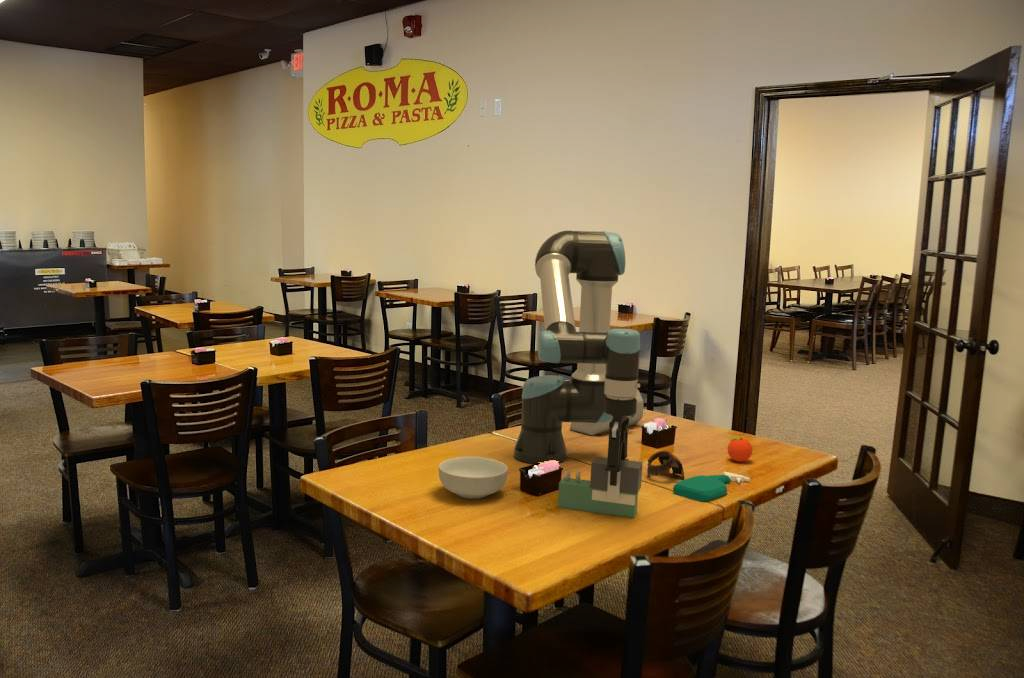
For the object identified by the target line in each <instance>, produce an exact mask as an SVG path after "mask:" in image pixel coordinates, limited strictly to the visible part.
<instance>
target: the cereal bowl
mask: <svg viewBox="0 0 1024 678" xmlns="http://www.w3.org/2000/svg"><path fill="white" fill-rule="evenodd" d="M508 469H509V468H508V465H506V464H505V463H503V462H502V461H500V460H497V459H493V458H488V457H482V456H458V457H457V456H456V457H452V458H449V459H445V460H443V461H442V462H440V464H439V465H438V477H439V481H440V483H441V484H442V486H443V487H444V488H445V489H446V490H448V491H449V492H451V493H453V494H456V495H457V496H458V497H461V498H463V499H464V498H465V499H471V500H472V499H473V500H475V499H477V500H478V499H482V498H485V497H487V496H488V495H489V496H490V495H492V494H494V493H497V492H498V491H500V490H501V489H502V488H503V487H504V486H505V484H506V482H507V478H508V471H509V470H508Z"/></svg>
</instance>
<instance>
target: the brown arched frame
mask: <svg viewBox="0 0 1024 678" xmlns="http://www.w3.org/2000/svg"><path fill="white" fill-rule="evenodd" d="M656 459H658V462H659V463H660V464H659V465H653V464H652V463H653V462H654V461H656ZM647 462H648V463H647V469H646V471H647V477H649V478H650V477H651V475H652V476H658V475H664V474H668V475H671V472H670V469H671V471H672V475H680V476H681V478H682V480H685V479H686V477H685V471H684V468H683V464H682V462H681V460H680V459H679V457H677V456H676V455H674V454H673V453H672V452H671V451H670V450H666V449H664V450H659V451H657V452H655V453H653V454H652V455H650V456H649V458H647Z"/></svg>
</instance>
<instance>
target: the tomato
mask: <svg viewBox="0 0 1024 678" xmlns="http://www.w3.org/2000/svg"><path fill="white" fill-rule="evenodd" d="M729 440H731V441H730V442H729V443H728V446H727V454H728V456H729V457H730V458H731V459H732V460H733V461H735V462H737V463H741V462H745V461H747V460H749V459H750V458H751V456H752V455H753V446H752V444H751V442H750V441H749V440H748V439H746V438H743V437H731V438H729V439H727V441H725V443H724V444H726V442H728V441H729Z"/></svg>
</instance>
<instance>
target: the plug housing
mask: <svg viewBox="0 0 1024 678" xmlns="http://www.w3.org/2000/svg"><path fill="white" fill-rule="evenodd" d="M607 460H608V457H605V456H603V457H602V456H595V457H594V459H593V460H592V461H591V463H590V480H589V481H590V488H595V489H603V490H607V488H608V471H605V468H607ZM620 471H621V474H620V492H626V493H633V494H638V495H639V492H640V490H641V488H642V476H643V461H638V460H637V461H636V460H630V459H629V460H622V459H621V460H620Z"/></svg>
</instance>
